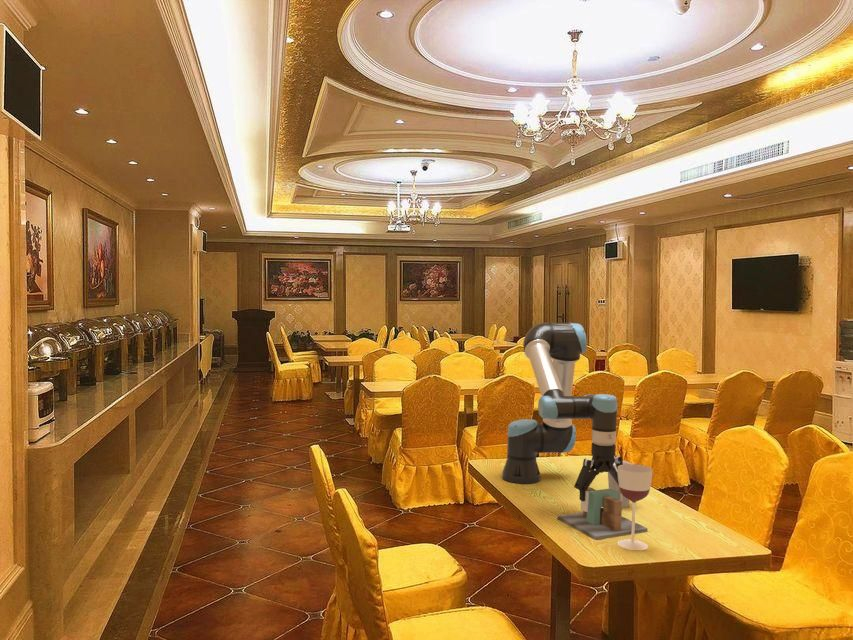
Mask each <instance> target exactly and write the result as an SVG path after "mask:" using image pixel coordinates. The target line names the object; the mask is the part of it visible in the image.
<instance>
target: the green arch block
mask: <svg viewBox="0 0 853 640" xmlns="http://www.w3.org/2000/svg"><path fill="white" fill-rule="evenodd" d="M588 492H589V495H588V512H587V522H588V523H590V524H592V525H600V507H601V508H603V509H604V497H608V496H611V497H613V498H616V499H617V491H615V490H613V489H610V488H609V487H608V488H602V489H595V490H593V491H588Z"/></svg>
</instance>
